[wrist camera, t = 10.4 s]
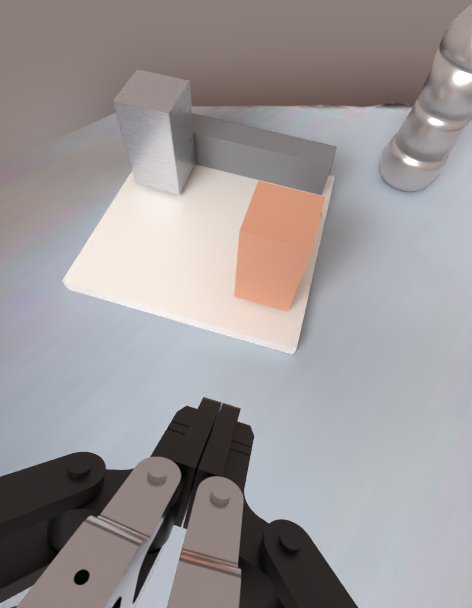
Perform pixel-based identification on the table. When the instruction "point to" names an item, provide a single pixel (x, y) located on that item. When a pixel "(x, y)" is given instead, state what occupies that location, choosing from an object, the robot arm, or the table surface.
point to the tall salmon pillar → (276, 244)
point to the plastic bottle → (434, 113)
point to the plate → (204, 235)
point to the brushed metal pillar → (157, 129)
